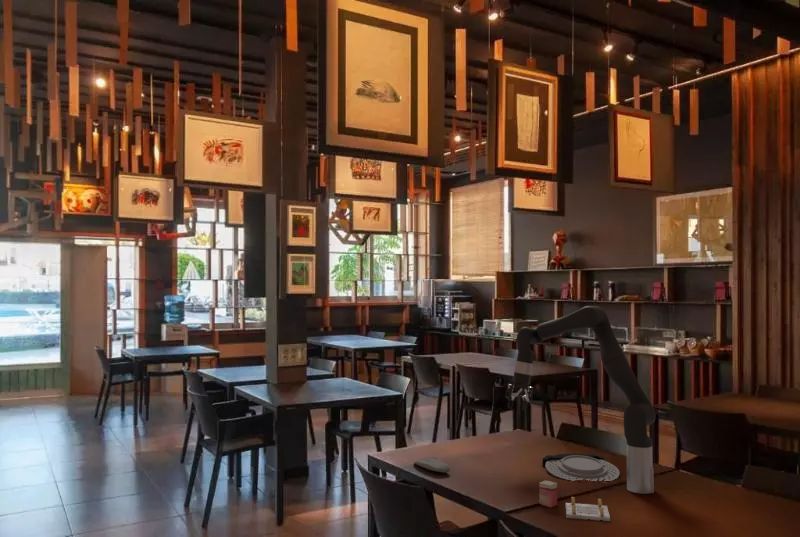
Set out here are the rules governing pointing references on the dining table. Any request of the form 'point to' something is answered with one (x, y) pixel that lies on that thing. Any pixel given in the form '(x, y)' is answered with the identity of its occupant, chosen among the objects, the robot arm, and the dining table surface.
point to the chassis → (587, 511)
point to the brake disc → (580, 467)
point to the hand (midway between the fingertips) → (516, 409)
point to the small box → (548, 493)
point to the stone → (433, 464)
